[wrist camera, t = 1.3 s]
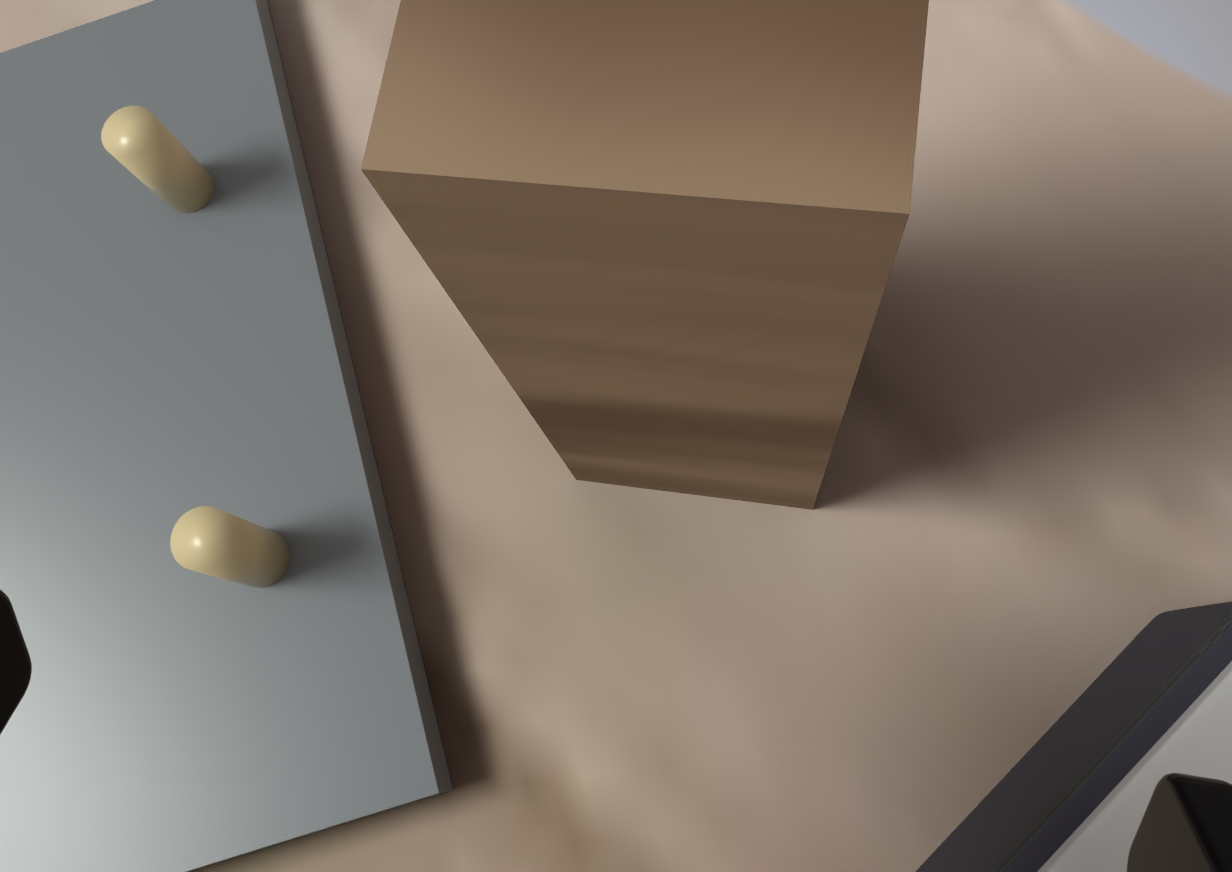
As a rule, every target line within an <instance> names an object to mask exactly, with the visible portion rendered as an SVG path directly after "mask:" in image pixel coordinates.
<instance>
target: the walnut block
mask: <svg viewBox="0 0 1232 872" xmlns="http://www.w3.org/2000/svg"><path fill="white" fill-rule="evenodd" d="M928 3H929V0H401V2H400V7H399V11H398V15H397V19H396V24H395V28H394V32H393V36H392V40H391V45H390V49H389V53H388V57H387V61H386V66H385V70H384V74H383V78H382V83H381V87H380V91H379V95H378V99H377V104H376V108H375V112H374V116H373V121H372V125H371V129H370V133H369V137H368V142H367V146H366V150H365V154H364V158H363V163H362V167H361V170H362V171H363V173H364V174H365V176H366V177H367V178H368V180H369V181H370V183H371V184H372V186H373V187H374V189H375V190H376V191H377V193H378V194H379V196H380V197H381V199H382V200H383V202H384V203H385V204H386V206H387V207H388V209H389V210H390V212H391V213H392V215H393V216H394V217H395V219H396V220H397V222H398V223H399V225H400V226H401V228H402V229H403V230H404V232H405V233H406V235H407V236H408V238H409V239H410V240H411V242H412V243H413V245H414V246H415V248H416V249H417V251H418V252H419V253H420V255H421V256H422V258H423V259H424V261H425V262H426V264H427V265H428V266H429V268H430V269H431V271H432V272H433V274H434V275H435V277H436V278H437V279H438V281H439V282H440V284H441V285H442V287H443V288H444V290H445V291H446V292H447V294H448V295H449V297H450V298H451V300H452V301H453V302H454V304H455V305H456V307H457V308H458V310H459V311H460V313H461V314H462V315H463V317H464V318H465V320H466V321H467V323H468V324H469V326H470V327H471V328H472V330H473V331H474V333H475V334H476V336H477V337H478V339H479V340H480V341H481V343H482V344H483V346H484V347H485V349H486V350H487V352H488V353H489V354H490V356H491V357H492V359H493V360H494V362H495V363H496V365H497V366H498V367H499V369H500V370H501V372H502V373H503V375H504V376H505V377H506V379H507V380H508V382H509V383H510V385H511V386H512V388H513V389H514V390H515V392H516V393H517V395H518V396H519V398H520V399H521V401H522V402H523V403H524V405H525V406H526V408H527V409H528V411H529V412H530V414H531V415H532V416H533V418H534V419H535V421H536V422H537V424H538V425H539V427H540V428H541V429H542V431H543V432H544V434H545V435H546V437H547V438H548V439H549V441H550V442H551V444H552V445H553V447H554V448H555V450H556V451H557V452H558V454H559V455H560V457H561V458H562V460H563V461H564V463H565V464H566V465H567V467H568V468H569V470H570V471H571V473H572V474H573V476H574V477H575V478H576V480H583V481H591V482H599V483H607V484H615V485H623V486H631V487H639V488H647V489H655V490H663V491H671V492H679V493H687V494H694V495H702V496H710V497H718V498H726V499H734V500H742V501H750V502H758V503H766V504H774V505H782V506H790V507H798V508H805V509H813V507H814V504H815V501H816V498H817V495H818V492H819V489H820V486H821V483H822V480H823V477H824V474H825V471H826V468H827V464H828V461H829V458H830V455H831V452H832V449H833V446H834V443H835V440H836V437H837V434H838V431H839V428H840V425H841V422H842V419H843V415H844V412H845V409H846V406H847V403H848V400H849V397H850V394H851V391H852V388H853V385H854V382H855V379H856V376H857V373H858V369H859V366H860V363H861V360H862V357H863V354H864V351H865V348H866V345H867V342H868V339H869V336H870V333H871V330H872V327H873V324H874V320H875V317H876V314H877V311H878V308H879V305H880V302H881V299H882V296H883V293H884V290H885V287H886V284H887V281H888V278H889V274H890V271H891V268H892V265H893V262H894V259H895V256H896V253H897V250H898V247H899V244H900V241H901V238H902V235H903V232H904V229H905V225H906V222H907V219H908V216H909V211H910V200H911V189H912V178H913V168H914V157H915V146H916V135H917V124H918V113H919V102H920V91H921V80H922V69H923V58H924V47H925V36H926V25H927V14H928Z"/></svg>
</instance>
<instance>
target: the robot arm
mask: <svg viewBox="0 0 1232 872" xmlns="http://www.w3.org/2000/svg"><path fill="white" fill-rule="evenodd" d="M31 673H32V662H31V658H30V655H29V652H28V649H27V646H26V643H25V641H24V638H23V635H22V632H21V629H20V626H19V623H18V620H17V618H16V615H15V612H14V609H13V606H12V603H11V601H10V599H9V597H8V596H7V595H6V594H5V593H4V592H3V591H2V590H0V735H1V733H2V731H3V730H4V728H5V726H6V725H7V723H8V721H9V720H10V718H11V716H12V715H13V713H14V711H15V710H16V708H17V706H18V704H19V703H20V701H21V699H22V698H23V696H24V694H25V692H26V690H27V688H28V685H29V682H30V679H31ZM1127 872H1232V784H1230V783H1228V782H1225V781H1222V780H1218V779H1212V778H1205V777H1199V776H1193V775H1187V774H1180V773H1170V774H1167V775H1164V776H1163V777H1162V778H1161V779H1160V780H1159V782H1158V783H1157V785H1156V787H1155V789H1154V791H1153V794H1152V796H1151V799H1150V801H1149V803H1148V806H1147V808H1146V811H1145V813H1144V815H1143V818H1142V820H1141V823H1140V825H1139V828H1138V830H1137V832H1136V835H1135V837H1134V840H1133V842H1132V844H1131V847H1130V850H1129V855H1128V861H1127Z"/></svg>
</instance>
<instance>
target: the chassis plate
mask: <svg viewBox="0 0 1232 872" xmlns="http://www.w3.org/2000/svg"><path fill="white" fill-rule="evenodd" d="M0 590H2V591H3V592H4V593H5V594H6V595H7V596H8V597H9V599H10V601H11V603H12V606H13V609H14V612H15V615H16V618H17V620H18V623H19V626H20V629H21V632H22V635H23V638H24V641H25V643H26V646H27V649H28V652H29V655H30V658H31V662H32V673H31V679H30V682H29V685H28V688H27V690H26V692H25V694H24V696H23V698H22V699H21V701H20V703H19V704H18V706H17V708H16V710H15V711H14V713H13V715H12V716H11V718H10V720H9V721H8V723H7V725H6V726H5V728H4V730H3V731H2V733H1V735H0V872H189V871H192V870H195V869H199V868H202V867H205V866H208V865H212V864H215V863H218V862H221V861H224V860H228V859H231V858H234V857H237V856H241V855H244V854H247V853H250V852H253V851H257V850H260V849H263V848H266V847H270V846H273V845H276V844H279V843H282V842H286V841H289V840H292V839H295V838H298V837H302V836H305V835H308V834H311V833H315V832H318V831H321V830H324V829H327V828H331V827H334V826H337V825H340V824H344V823H347V822H350V821H353V820H356V819H360V818H363V817H366V816H369V815H372V814H376V813H379V812H382V811H385V810H389V809H392V808H395V807H398V806H401V805H405V804H408V803H411V802H414V801H418V800H421V799H424V798H427V797H430V796H434V795H437V794H440V793H443V792H447V791H450V790H453V788H452V784H451V779H450V775H449V771H448V767H447V762H446V758H445V754H444V750H443V745H442V741H441V737H440V733H439V728H438V724H437V720H436V716H435V711H434V707H433V703H432V699H431V695H430V690H429V686H428V682H427V678H426V673H425V669H424V665H423V661H422V656H421V652H420V648H419V644H418V639H417V635H416V631H415V627H414V622H413V618H412V614H411V610H410V605H409V601H408V597H407V593H406V588H405V584H404V580H403V576H402V571H401V567H400V563H399V559H398V554H397V550H396V546H395V542H394V537H393V533H392V529H391V525H390V520H389V516H388V512H387V508H386V503H385V499H384V495H383V491H382V486H381V482H380V478H379V474H378V469H377V465H376V461H375V457H374V452H373V448H372V444H371V440H370V435H369V431H368V427H367V423H366V418H365V414H364V410H363V406H362V401H361V397H360V393H359V389H358V384H357V380H356V376H355V372H354V367H353V363H352V359H351V355H350V350H349V346H348V342H347V338H346V333H345V329H344V325H343V321H342V316H341V312H340V308H339V304H338V299H337V295H336V291H335V287H334V283H333V278H332V274H331V270H330V266H329V261H328V257H327V253H326V249H325V244H324V240H323V236H322V232H321V227H320V223H319V219H318V215H317V210H316V206H315V202H314V198H313V193H312V189H311V185H310V181H309V176H308V172H307V168H306V164H305V159H304V155H303V151H302V147H301V142H300V138H299V134H298V130H297V125H296V121H295V117H294V113H293V108H292V104H291V100H290V96H289V91H288V87H287V83H286V79H285V74H284V70H283V66H282V62H281V57H280V53H279V49H278V45H277V40H276V36H275V32H274V28H273V23H272V19H271V15H270V11H269V6H268V2H267V0H155V1H152V2H149V3H146V4H143V5H140V6H137V7H134V8H131V9H128V10H125V11H122V12H120V13H117V14H114V15H111V16H108V17H105V18H102V19H99V20H96V21H93V22H90V23H87V24H84V25H81V26H79V27H76V28H73V29H70V30H67V31H64V32H61V33H58V34H55V35H52V36H49V37H46V38H43V39H40V40H38V41H35V42H32V43H29V44H26V45H23V46H20V47H17V48H14V49H11V50H8V51H5V52H2V53H0Z"/></svg>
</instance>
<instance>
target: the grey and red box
mask: <svg viewBox="0 0 1232 872" xmlns="http://www.w3.org/2000/svg"><path fill="white" fill-rule="evenodd" d="M1170 773H1180V774H1187V775H1193V776H1199V777H1205V778H1212V779H1218V780H1222V781H1225V782H1228V783H1230V784H1232V602H1226V603H1220V604H1213V605H1206V606H1200V607H1193V608H1186V609H1180V610H1174V611H1168V612H1164V613H1161V614H1159V615H1158V616H1156V617H1155V618H1154V619H1153V620H1152V621H1151V622H1150V623H1149V624H1148V625H1147V626H1146V627H1145V628H1144V629H1143V630H1142V631H1141V632H1140V633H1139V634H1138V635H1137V636H1136V637H1135V639H1134V640H1133V641H1132V642H1131V643H1130V644H1129V645H1128V646H1127V647H1126V648H1125V649H1124V650H1123V651H1122V652H1121V653H1120V654H1119V656H1118V657H1117V658H1116V659H1115V660H1114V661H1113V662H1112V663H1111V664H1110V665H1109V666H1108V667H1107V668H1106V669H1105V670H1104V672H1103V673H1102V674H1101V675H1100V676H1099V677H1098V678H1097V679H1096V680H1095V681H1094V682H1093V683H1092V684H1091V685H1090V686H1089V687H1088V689H1087V690H1086V691H1085V692H1084V693H1083V694H1082V695H1081V696H1080V697H1079V698H1078V699H1077V700H1076V701H1075V702H1074V703H1073V705H1072V706H1071V707H1070V708H1069V709H1068V710H1067V711H1066V712H1065V713H1064V714H1063V715H1062V716H1061V717H1060V718H1059V719H1058V721H1057V722H1056V723H1055V724H1054V725H1053V726H1052V727H1051V728H1050V729H1049V730H1048V731H1047V732H1046V733H1045V734H1044V735H1043V736H1042V738H1041V739H1040V740H1039V741H1038V742H1037V743H1036V744H1035V745H1034V746H1033V747H1032V748H1031V749H1030V750H1029V751H1028V752H1027V754H1026V755H1025V756H1024V757H1023V758H1022V759H1021V760H1020V761H1019V762H1018V763H1017V764H1016V765H1015V766H1014V767H1013V768H1012V769H1011V771H1010V772H1009V773H1008V774H1007V775H1006V776H1005V777H1004V778H1003V779H1002V780H1001V781H1000V782H999V783H998V784H997V785H996V787H995V788H994V789H993V790H992V791H991V792H990V793H989V794H988V795H987V796H986V797H985V798H984V799H983V800H982V801H981V803H980V804H979V805H978V806H977V807H976V808H975V809H974V810H973V811H972V812H971V813H970V814H969V815H968V816H967V817H966V819H965V820H964V821H963V822H962V823H961V824H960V825H959V826H958V827H957V828H956V829H955V830H954V831H953V832H952V833H951V834H950V836H949V837H948V838H947V839H946V840H945V841H944V842H943V843H942V844H941V845H940V846H939V847H938V848H937V849H936V850H935V852H934V853H933V854H932V855H931V856H930V857H929V858H928V859H927V860H926V861H925V862H924V863H923V864H922V865H921V866H920V868H919V869H918V870H917V871H916V872H1127V861H1128V855H1129V850H1130V847H1131V844H1132V842H1133V840H1134V837H1135V835H1136V832H1137V830H1138V828H1139V825H1140V823H1141V820H1142V818H1143V815H1144V813H1145V811H1146V808H1147V806H1148V803H1149V801H1150V799H1151V796H1152V794H1153V791H1154V789H1155V787H1156V785H1157V783H1158V782H1159V780H1160V779H1161V778H1162V777H1163V776H1164V775H1167V774H1170Z"/></svg>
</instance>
